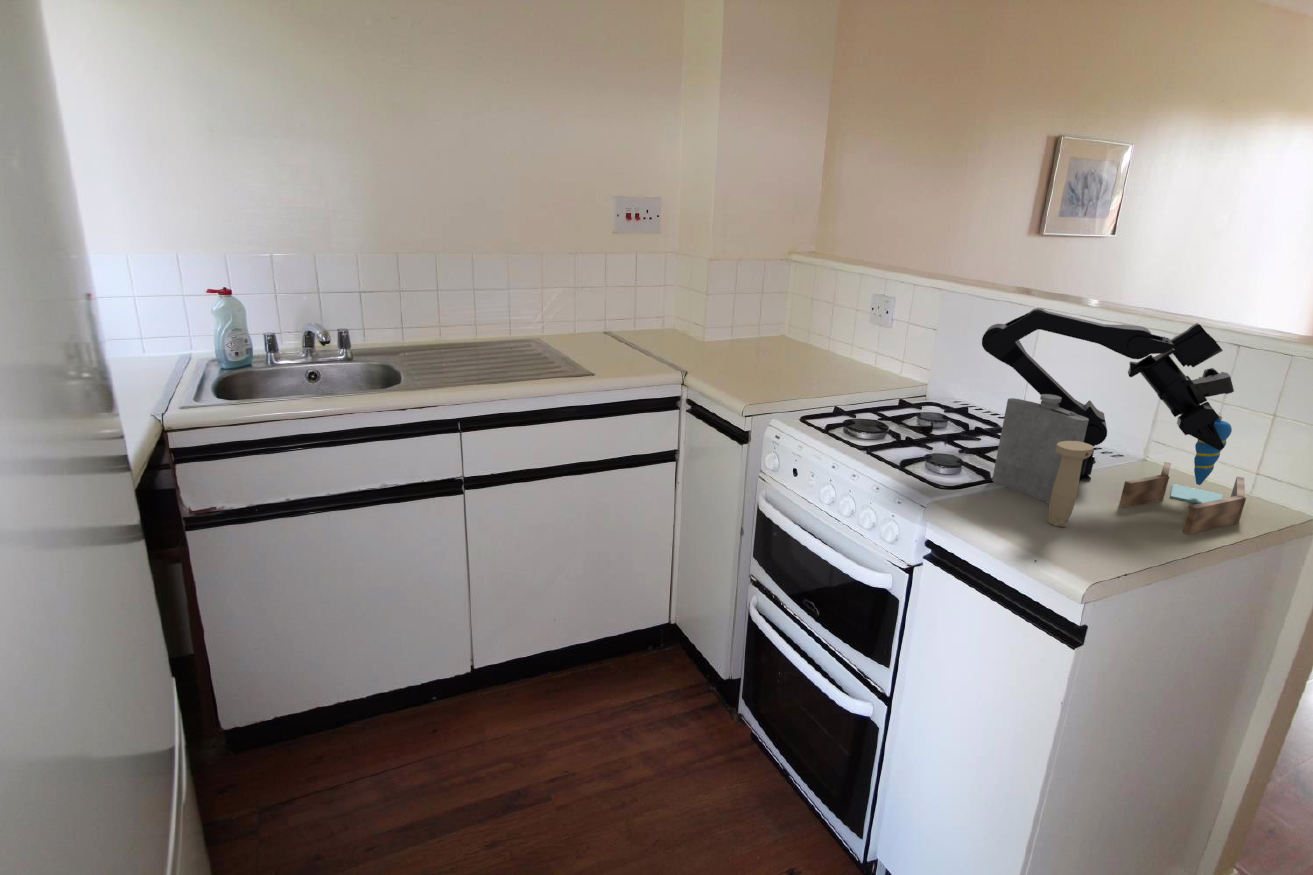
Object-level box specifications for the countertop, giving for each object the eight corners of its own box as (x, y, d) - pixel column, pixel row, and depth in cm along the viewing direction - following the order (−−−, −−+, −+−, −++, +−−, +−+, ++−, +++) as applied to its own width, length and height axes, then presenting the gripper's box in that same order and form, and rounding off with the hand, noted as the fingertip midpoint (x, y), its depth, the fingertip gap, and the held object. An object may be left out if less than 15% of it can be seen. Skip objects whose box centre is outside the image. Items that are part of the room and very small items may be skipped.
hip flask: (988, 481, 156) (1006, 387, 150) (1000, 477, 158) (1019, 385, 152) (1062, 509, 144) (1085, 407, 137) (1074, 505, 146) (1098, 405, 139)
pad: (1221, 508, 147) (1222, 507, 146) (1170, 497, 151) (1170, 495, 151) (1221, 496, 153) (1222, 494, 153) (1172, 485, 158) (1173, 483, 158)
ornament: (1202, 481, 154) (1222, 409, 149) (1221, 490, 149) (1243, 416, 144) (1177, 480, 153) (1197, 408, 149) (1195, 489, 148) (1216, 415, 144)
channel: (1146, 530, 136) (1153, 504, 134) (1089, 478, 160) (1094, 456, 158) (1301, 543, 133) (1310, 517, 131) (1219, 489, 157) (1226, 466, 155)
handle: (1081, 526, 136) (1100, 447, 131) (1057, 532, 133) (1075, 452, 129) (1057, 516, 140) (1075, 439, 135) (1033, 521, 138) (1050, 443, 133)
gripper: (1219, 366, 137) (1275, 435, 136) (1203, 349, 153) (1253, 410, 152) (1157, 400, 143) (1210, 467, 142) (1148, 380, 159) (1196, 440, 157)
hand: (1219, 445), depth 148 cm, fingers closed on ornament, 5 cm apart
